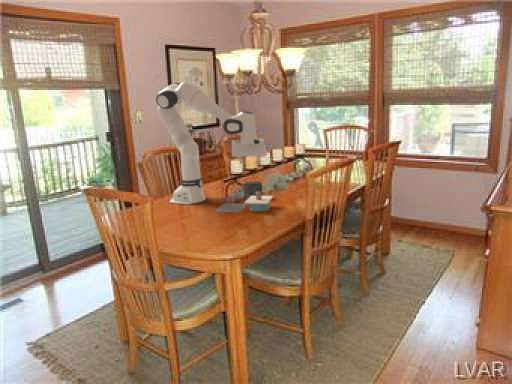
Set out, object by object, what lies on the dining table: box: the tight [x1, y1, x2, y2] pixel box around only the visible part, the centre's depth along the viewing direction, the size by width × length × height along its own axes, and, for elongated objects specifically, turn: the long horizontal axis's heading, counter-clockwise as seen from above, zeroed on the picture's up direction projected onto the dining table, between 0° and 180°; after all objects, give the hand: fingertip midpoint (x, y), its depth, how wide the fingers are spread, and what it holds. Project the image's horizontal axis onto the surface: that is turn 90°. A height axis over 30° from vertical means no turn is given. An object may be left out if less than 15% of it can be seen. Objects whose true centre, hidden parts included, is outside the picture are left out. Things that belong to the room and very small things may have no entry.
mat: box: [214, 203, 248, 213], centre depth 229 cm, size 15×15×1 cm
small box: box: [243, 180, 263, 201], centre depth 243 cm, size 11×6×10 cm, turn 84°
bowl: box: [248, 200, 271, 213], centre depth 224 cm, size 11×11×5 cm
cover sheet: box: [243, 192, 274, 205], centre depth 222 cm, size 13×13×5 cm
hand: (249, 163), depth 229 cm, fingers open, 8 cm apart
